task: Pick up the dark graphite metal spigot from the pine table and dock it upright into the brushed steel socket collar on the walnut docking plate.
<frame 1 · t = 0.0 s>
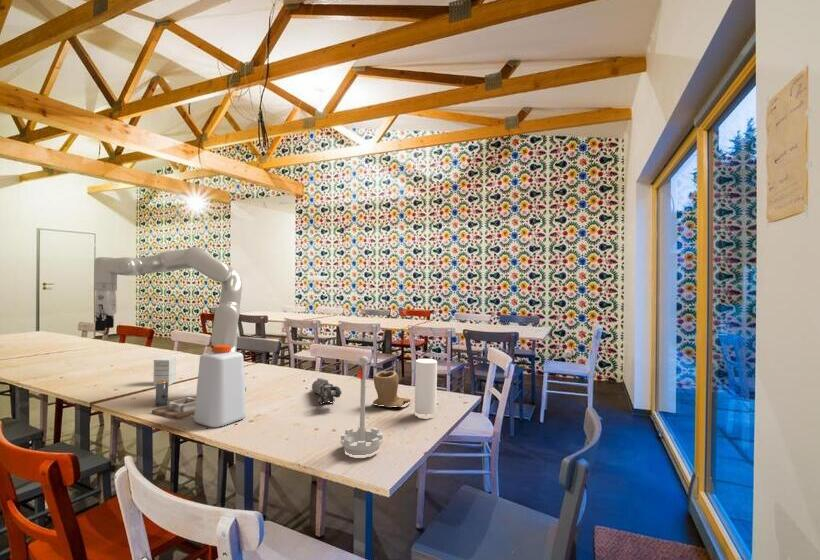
hand: (104, 329, 163), 31 cm above the table, tool pointing down, fingers open, 9 cm apart
grey lumpy piece: (324, 400, 177), on the table
stone cup: (389, 407, 170), on the table
spigot: (161, 405, 166), on the table
docking plate: (184, 410, 160), on the table
tall white tube: (427, 416, 160), on the table
supplement box: (164, 384, 198), on the table
plastic bottle: (220, 420, 150), on the table
flag stand: (361, 451, 126), on the table
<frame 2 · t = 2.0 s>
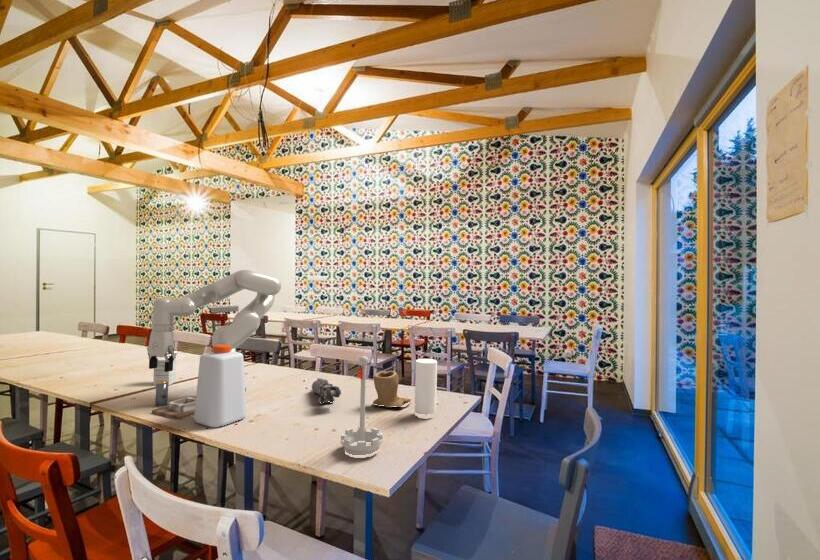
hand: (160, 369, 165), 15 cm above the table, tool pointing down, fingers open, 9 cm apart
nothing on the table moved.
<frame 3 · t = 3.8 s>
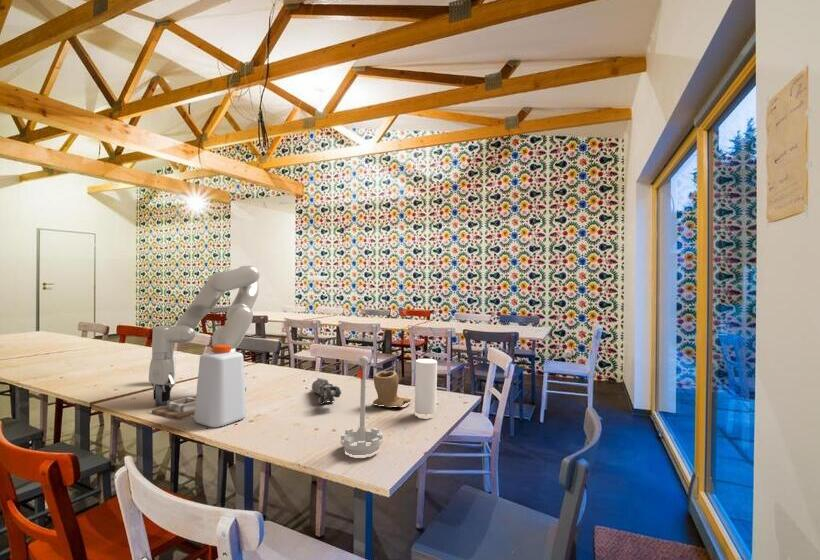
hand: (161, 399, 166), 2 cm above the table, tool pointing down, fingers closed on spigot, 4 cm apart
spigot: (161, 405, 166), on the table, touching gripper
everything else where it was.
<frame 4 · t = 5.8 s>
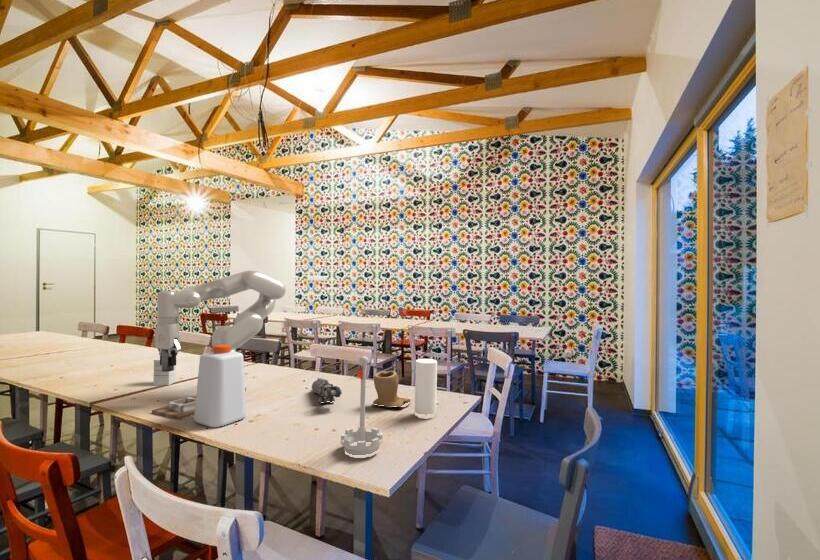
hand: (168, 364, 165), 17 cm above the table, tool pointing down, fingers closed on spigot, 4 cm apart
spigot: (167, 370, 165), point 15 cm above the table, touching gripper
everything else where it was.
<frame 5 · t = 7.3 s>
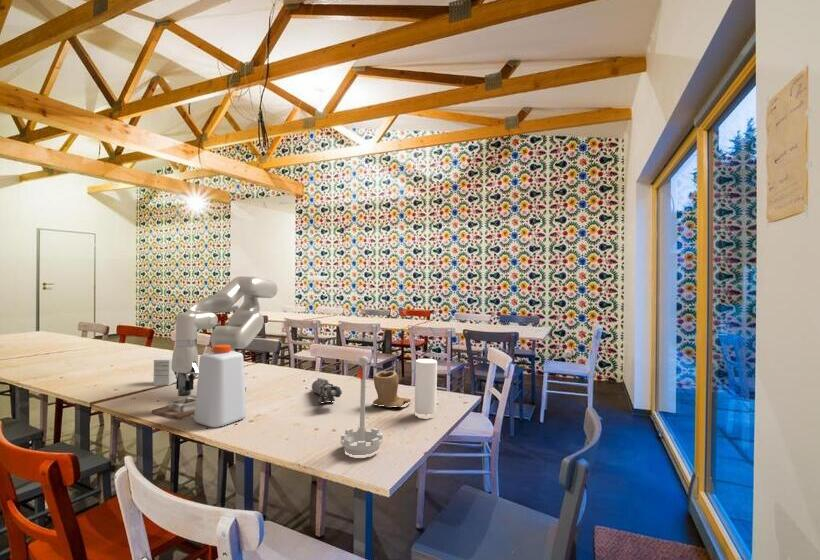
hand: (184, 388, 160), 9 cm above the table, tool pointing down, fingers closed on spigot, 4 cm apart
spigot: (184, 394, 159), point 6 cm above the table, touching gripper
everything else where it was.
when the fingers open (5 cm above the table, at t = 8.3 s): spigot drops 2 cm, resting on docking plate.
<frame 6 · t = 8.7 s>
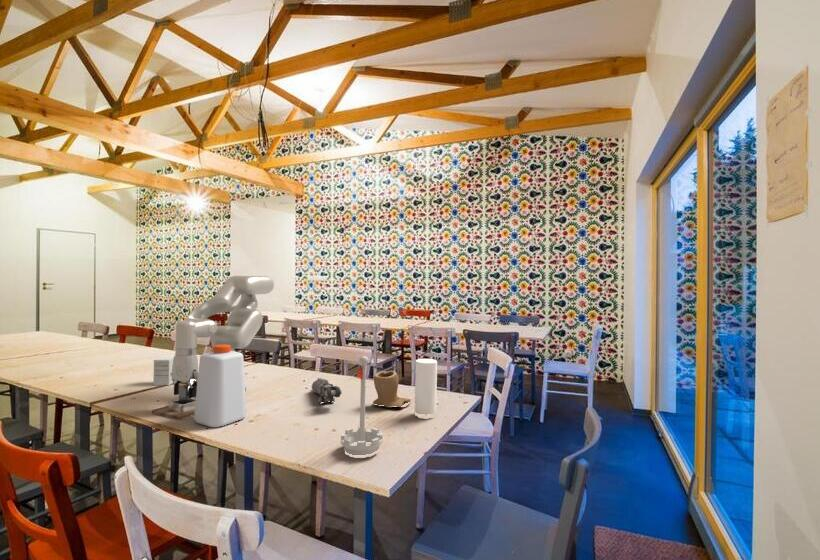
hand: (185, 395, 160), 6 cm above the table, tool pointing down, fingers open, 8 cm apart
spigot: (184, 407, 160), point 1 cm above the table, touching docking plate
everything else where it was.
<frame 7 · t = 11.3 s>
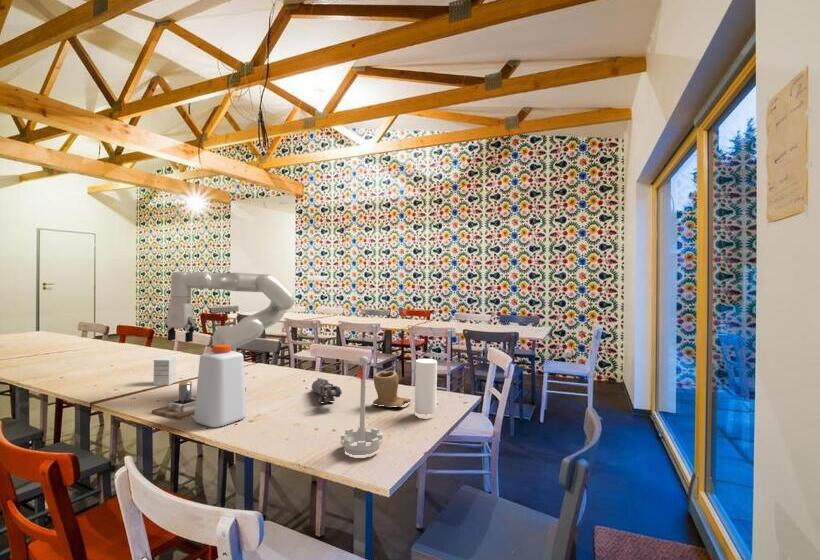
hand: (180, 340, 170), 26 cm above the table, tool pointing down, fingers open, 9 cm apart
nothing on the table moved.
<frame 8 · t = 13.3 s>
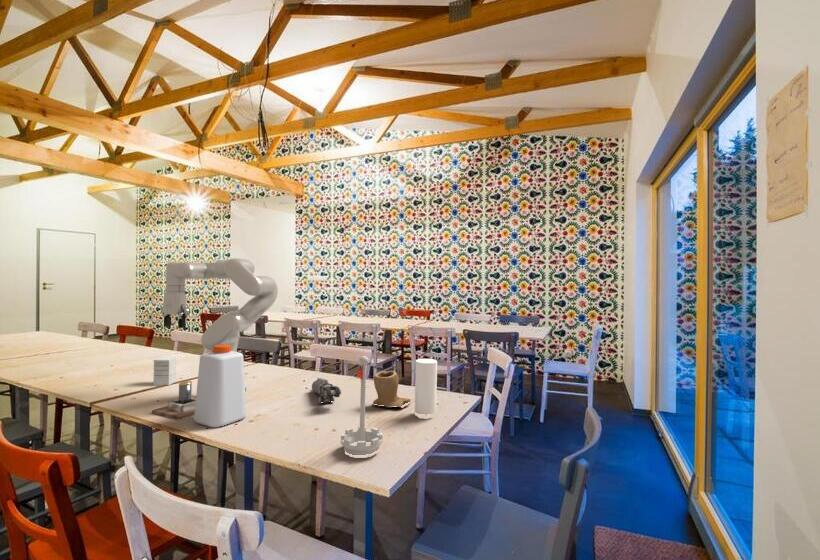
hand: (174, 326, 183), 30 cm above the table, tool pointing down, fingers open, 9 cm apart
nothing on the table moved.
at the end: spigot 0.0 cm off-centre on the docking plate, point 1.2 cm above the docking plate's base; spigot tilted 0°; the gripper is holding nothing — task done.
